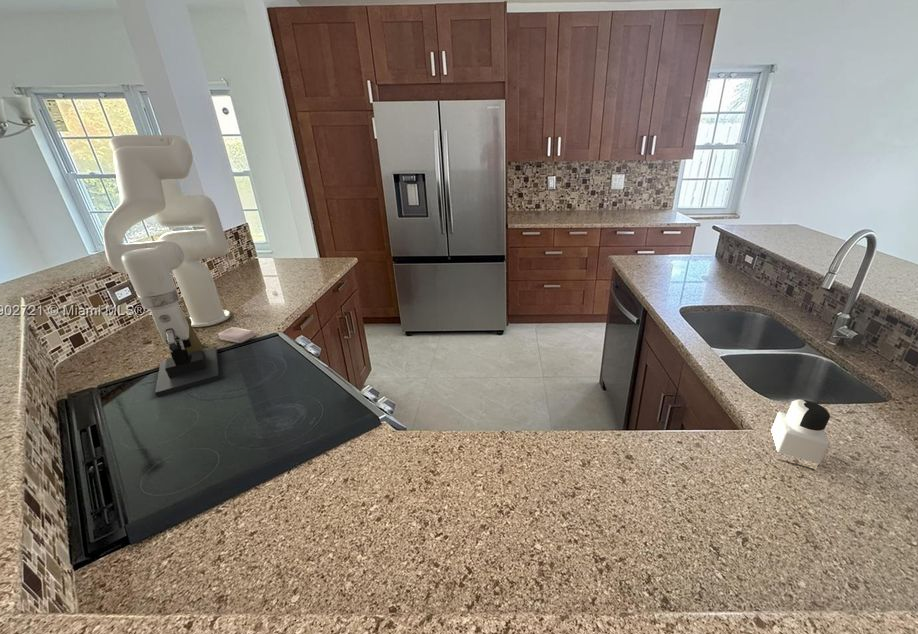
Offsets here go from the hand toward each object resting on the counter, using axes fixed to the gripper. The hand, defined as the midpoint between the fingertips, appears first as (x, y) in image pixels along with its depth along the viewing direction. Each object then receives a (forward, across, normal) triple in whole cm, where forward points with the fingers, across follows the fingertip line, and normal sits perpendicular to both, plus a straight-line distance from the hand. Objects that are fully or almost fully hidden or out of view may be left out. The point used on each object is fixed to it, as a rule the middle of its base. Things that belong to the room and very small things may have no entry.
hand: (184, 355), depth 101 cm
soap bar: (+6, +14, -12) cm, 19 cm away
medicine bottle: (+3, -111, -101) cm, 150 cm away
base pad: (+5, -1, 0) cm, 5 cm away
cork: (+6, +14, 0) cm, 15 cm away
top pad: (+4, -1, 0) cm, 4 cm away
